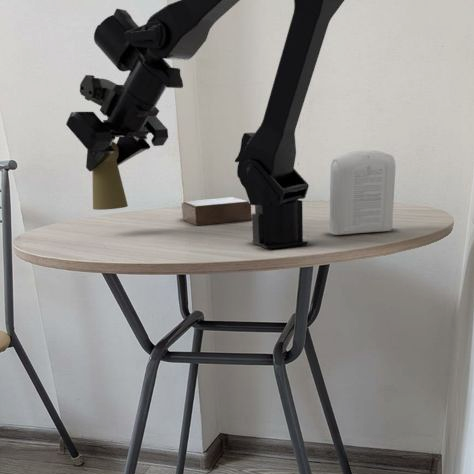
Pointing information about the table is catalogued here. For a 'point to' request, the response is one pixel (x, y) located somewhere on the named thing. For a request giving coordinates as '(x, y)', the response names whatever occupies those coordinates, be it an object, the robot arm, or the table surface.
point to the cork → (108, 184)
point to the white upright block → (362, 192)
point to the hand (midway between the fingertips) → (99, 168)
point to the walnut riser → (216, 211)
